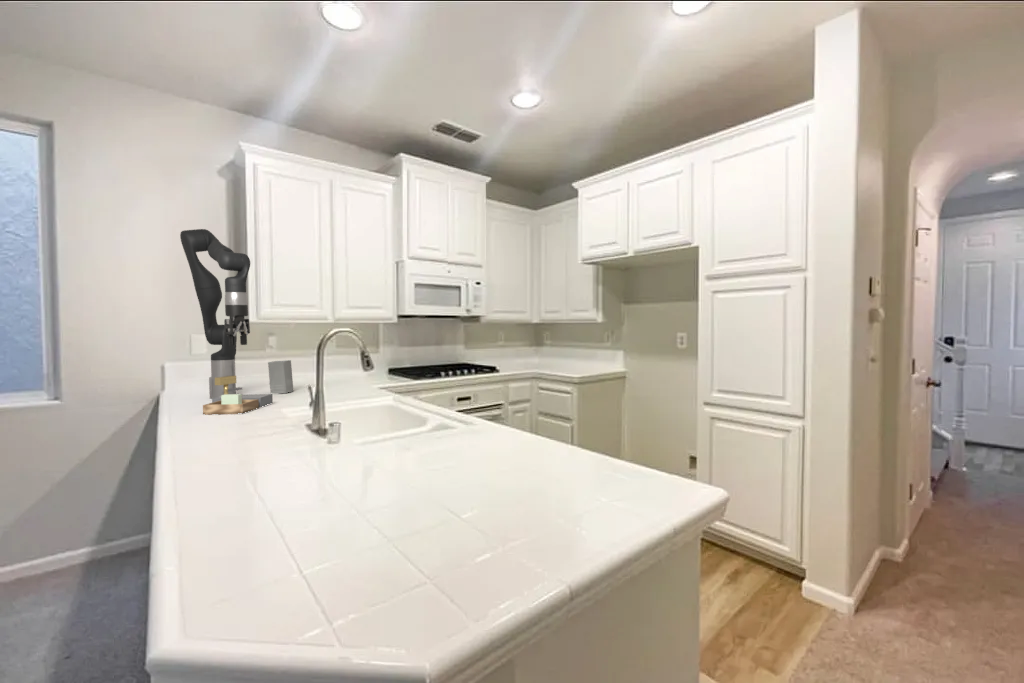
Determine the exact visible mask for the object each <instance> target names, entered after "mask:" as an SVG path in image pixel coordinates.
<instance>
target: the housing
mask: <svg viewBox="0 0 1024 683" xmlns="http://www.w3.org/2000/svg"><path fill="white" fill-rule="evenodd" d="M252 399H258V402H259V407H262V406H264V407H266V406H265V405H267V404H270V403H273V402H274V401H273V394H271V393H257V394H256V393H255V394H254V393H253V394H250V393H249V394H242V400H252ZM220 400H221V396H220V397H217V398H211V403H213V402H217V401H220ZM270 405H271V404H270ZM267 406H268V405H267ZM262 408H263V407H262Z"/></svg>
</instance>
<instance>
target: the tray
mask: <svg viewBox="0 0 1024 683" xmlns="http://www.w3.org/2000/svg"><path fill="white" fill-rule="evenodd" d="M256 408H258V409H260V408H259V402H258V399H252V400H242V404H221V400H220V401H217V402H213V403H212V402H209V403H205V404H202V415H203V414H205V415H206V416H211V415H212V414H218V415H239V414H238V413H244V414H246V413H245V412H247V413H249V412H248V411H250V412H252V411H254V410H253V409H255V410H257V409H256ZM251 410H252V411H251ZM205 415H204V416H205Z"/></svg>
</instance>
